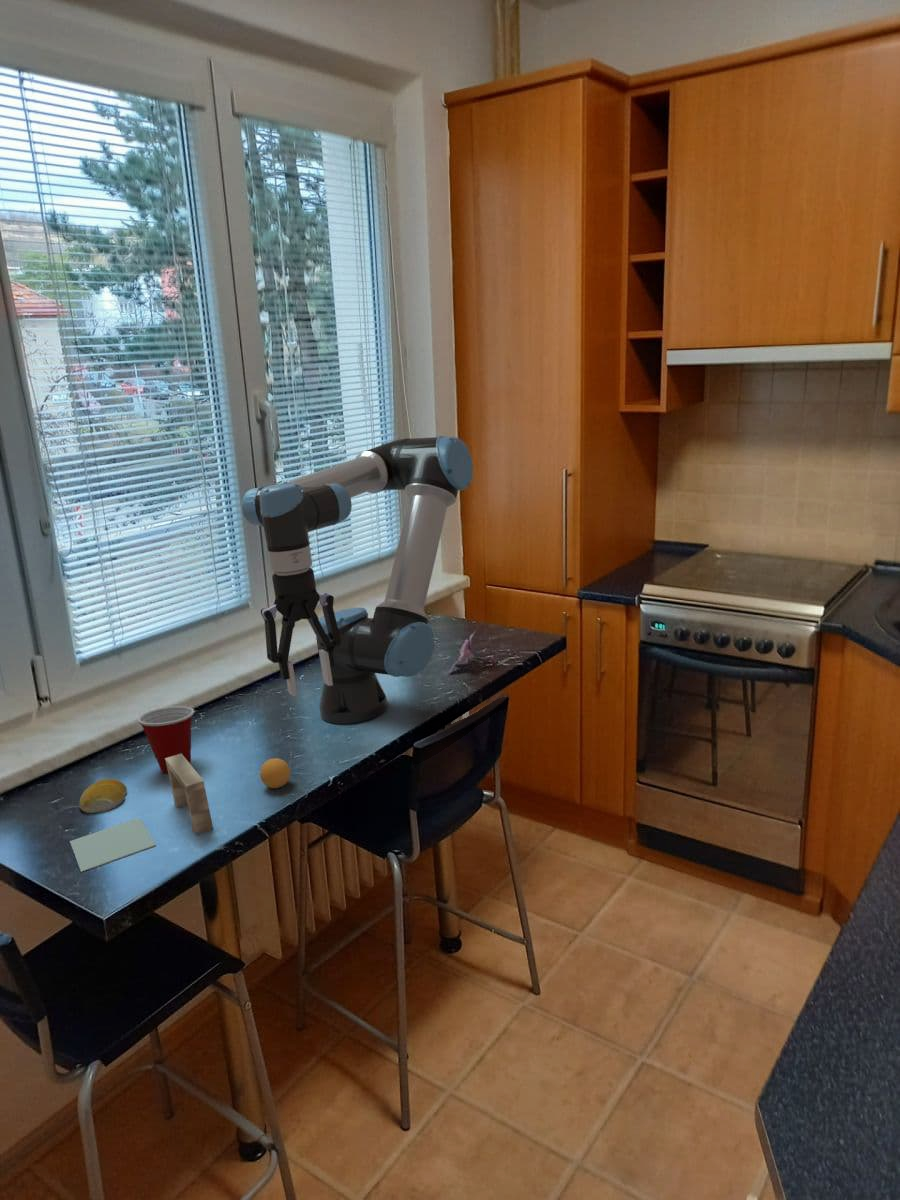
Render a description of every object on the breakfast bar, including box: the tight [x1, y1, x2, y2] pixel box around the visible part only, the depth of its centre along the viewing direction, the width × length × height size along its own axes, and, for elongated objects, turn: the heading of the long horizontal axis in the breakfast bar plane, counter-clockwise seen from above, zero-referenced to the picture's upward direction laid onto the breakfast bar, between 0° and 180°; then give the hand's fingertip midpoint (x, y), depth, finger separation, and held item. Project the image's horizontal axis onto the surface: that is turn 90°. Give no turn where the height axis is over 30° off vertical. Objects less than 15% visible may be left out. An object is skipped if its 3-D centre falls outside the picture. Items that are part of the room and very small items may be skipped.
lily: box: [448, 629, 483, 675], centre depth 212 cm, size 12×12×10 cm
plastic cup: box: [137, 705, 195, 775], centre depth 173 cm, size 11×11×12 cm
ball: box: [259, 757, 291, 789], centre depth 161 cm, size 6×6×6 cm
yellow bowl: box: [78, 778, 128, 814], centre depth 163 cm, size 8×9×4 cm
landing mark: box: [69, 817, 157, 873], centre depth 147 cm, size 12×12×1 cm
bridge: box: [165, 753, 214, 836], centre depth 153 cm, size 3×14×9 cm, turn 32°
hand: (310, 688), depth 162 cm, fingers open, 6 cm apart
